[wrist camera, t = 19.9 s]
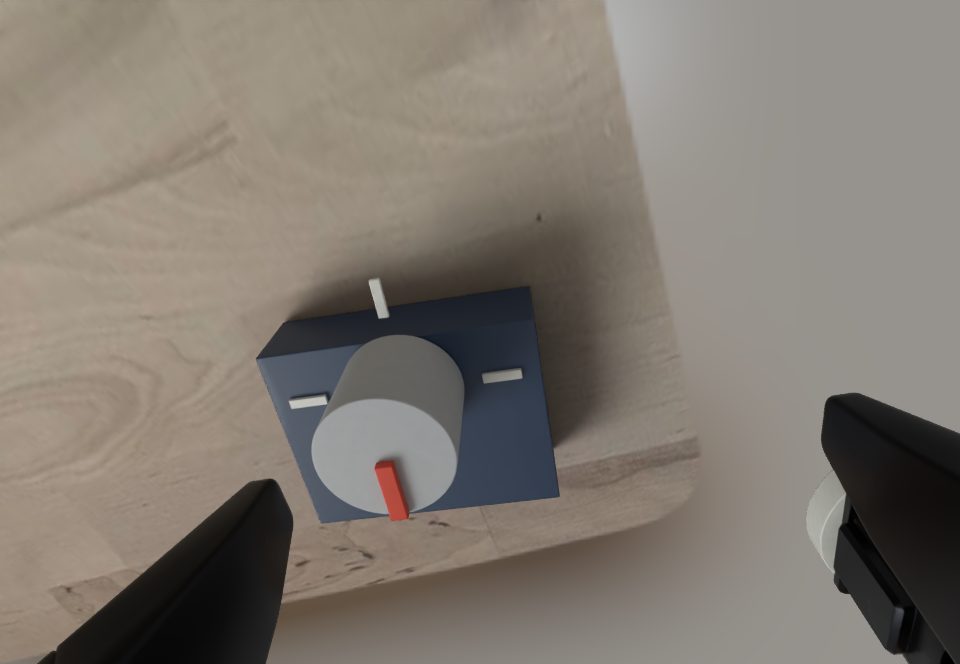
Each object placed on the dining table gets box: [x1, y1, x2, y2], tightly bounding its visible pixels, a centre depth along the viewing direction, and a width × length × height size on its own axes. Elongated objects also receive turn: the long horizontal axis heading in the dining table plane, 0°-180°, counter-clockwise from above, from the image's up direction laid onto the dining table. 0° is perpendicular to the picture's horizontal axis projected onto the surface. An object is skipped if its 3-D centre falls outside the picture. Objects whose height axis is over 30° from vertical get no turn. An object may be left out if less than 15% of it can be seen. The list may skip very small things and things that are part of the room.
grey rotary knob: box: [311, 335, 464, 521], centre depth 19 cm, size 4×4×4 cm
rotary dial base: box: [256, 278, 560, 523], centre depth 22 cm, size 10×10×3 cm
